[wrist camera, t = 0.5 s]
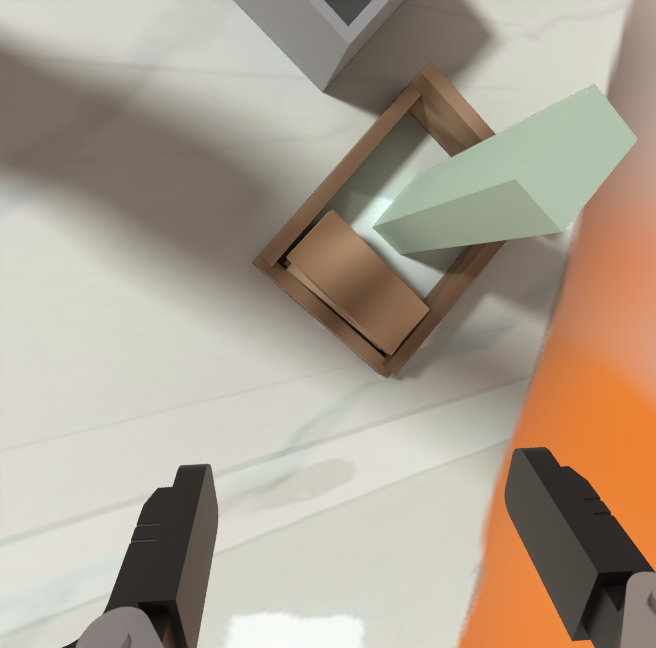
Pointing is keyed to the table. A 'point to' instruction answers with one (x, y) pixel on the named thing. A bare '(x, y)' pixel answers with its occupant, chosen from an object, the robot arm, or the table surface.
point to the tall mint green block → (512, 179)
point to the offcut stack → (355, 283)
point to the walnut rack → (423, 103)
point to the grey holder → (317, 32)
